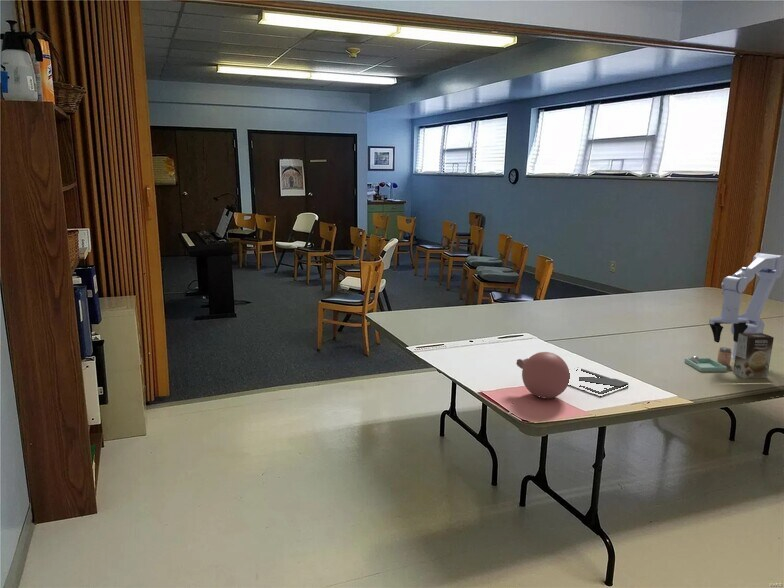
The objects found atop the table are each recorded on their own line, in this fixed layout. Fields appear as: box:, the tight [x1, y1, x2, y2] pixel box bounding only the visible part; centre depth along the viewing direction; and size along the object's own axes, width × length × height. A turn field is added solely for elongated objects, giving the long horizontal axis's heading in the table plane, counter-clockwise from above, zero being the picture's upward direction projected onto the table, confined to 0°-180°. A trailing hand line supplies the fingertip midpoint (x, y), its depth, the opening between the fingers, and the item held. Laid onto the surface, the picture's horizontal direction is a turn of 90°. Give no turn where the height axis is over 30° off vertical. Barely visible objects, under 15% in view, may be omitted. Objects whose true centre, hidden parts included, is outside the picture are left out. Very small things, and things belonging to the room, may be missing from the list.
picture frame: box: [576, 368, 629, 394], centre depth 197 cm, size 16×2×21 cm
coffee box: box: [732, 332, 775, 379], centre depth 201 cm, size 9×6×16 cm
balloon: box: [515, 351, 570, 399], centre depth 185 cm, size 15×20×15 cm
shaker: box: [716, 346, 733, 368], centre depth 214 cm, size 4×4×7 cm
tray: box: [684, 357, 728, 373], centre depth 212 cm, size 10×11×2 cm
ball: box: [689, 355, 700, 364], centre depth 215 cm, size 3×3×3 cm
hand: (726, 341), depth 213 cm, fingers open, 7 cm apart
